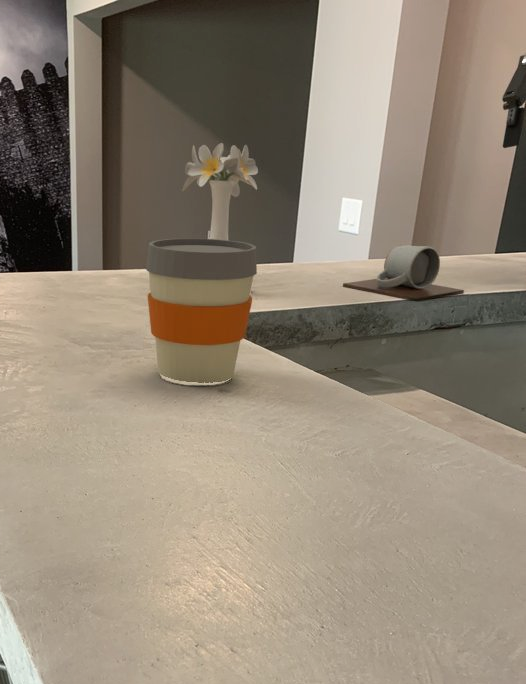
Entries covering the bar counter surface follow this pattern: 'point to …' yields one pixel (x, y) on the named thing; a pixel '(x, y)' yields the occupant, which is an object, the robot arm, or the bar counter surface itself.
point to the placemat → (404, 290)
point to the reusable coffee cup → (199, 305)
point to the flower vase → (221, 180)
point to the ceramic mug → (410, 267)
